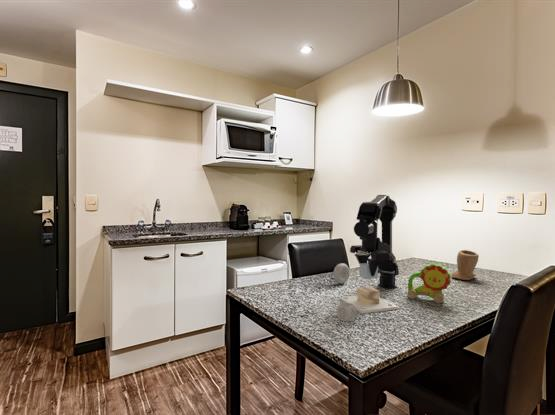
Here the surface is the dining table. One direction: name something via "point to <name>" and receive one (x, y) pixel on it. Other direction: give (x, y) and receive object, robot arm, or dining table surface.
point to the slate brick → (367, 271)
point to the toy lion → (430, 282)
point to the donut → (338, 270)
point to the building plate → (364, 308)
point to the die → (346, 312)
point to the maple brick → (368, 295)
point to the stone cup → (466, 265)
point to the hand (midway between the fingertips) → (368, 274)
